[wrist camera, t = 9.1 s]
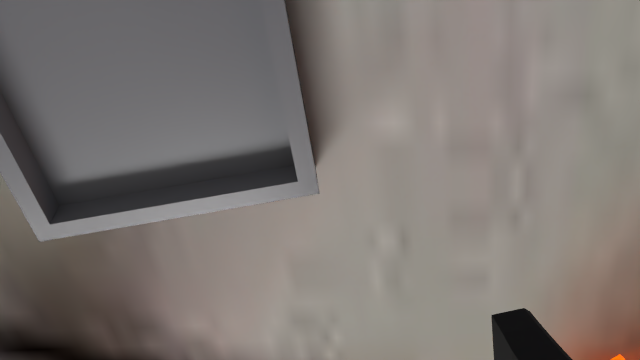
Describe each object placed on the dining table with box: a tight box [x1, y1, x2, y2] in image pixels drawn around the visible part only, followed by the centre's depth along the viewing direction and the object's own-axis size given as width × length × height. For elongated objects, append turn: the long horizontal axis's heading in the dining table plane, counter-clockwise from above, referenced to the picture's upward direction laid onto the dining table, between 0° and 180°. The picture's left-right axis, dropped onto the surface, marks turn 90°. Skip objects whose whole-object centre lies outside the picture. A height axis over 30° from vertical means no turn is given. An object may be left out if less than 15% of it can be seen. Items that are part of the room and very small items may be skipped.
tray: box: [0, 0, 319, 242], centre depth 16 cm, size 9×10×2 cm
